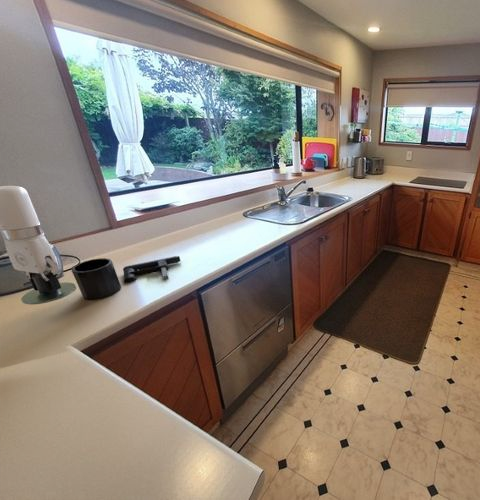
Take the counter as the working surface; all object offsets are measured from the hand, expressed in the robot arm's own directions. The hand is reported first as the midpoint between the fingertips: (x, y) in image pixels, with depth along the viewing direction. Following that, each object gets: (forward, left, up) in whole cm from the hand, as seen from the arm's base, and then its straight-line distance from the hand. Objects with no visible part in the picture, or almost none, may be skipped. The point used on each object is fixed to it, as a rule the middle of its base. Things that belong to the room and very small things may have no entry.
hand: (48, 288), depth 84 cm
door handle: (+24, +19, -10) cm, 32 cm away
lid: (0, 0, -2) cm, 2 cm away
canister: (+9, +10, -10) cm, 17 cm away
